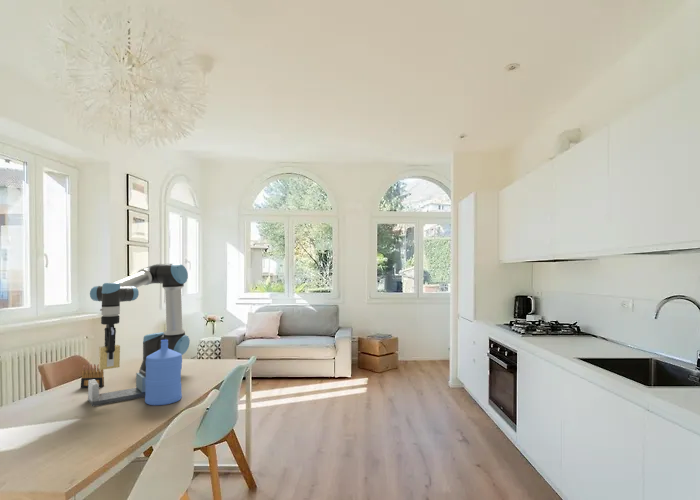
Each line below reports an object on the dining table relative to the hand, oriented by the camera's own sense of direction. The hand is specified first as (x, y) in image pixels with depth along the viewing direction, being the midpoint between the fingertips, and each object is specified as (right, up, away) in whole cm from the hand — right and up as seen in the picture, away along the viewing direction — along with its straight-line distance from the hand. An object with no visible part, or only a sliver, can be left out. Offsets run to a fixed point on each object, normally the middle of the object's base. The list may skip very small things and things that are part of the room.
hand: (109, 365), depth 195 cm
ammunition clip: (-21, -18, +21) cm, 34 cm away
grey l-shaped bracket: (+4, -16, +2) cm, 17 cm away
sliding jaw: (+12, -14, +9) cm, 20 cm away
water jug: (+27, -16, -2) cm, 31 cm away
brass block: (0, -1, 0) cm, 1 cm away
